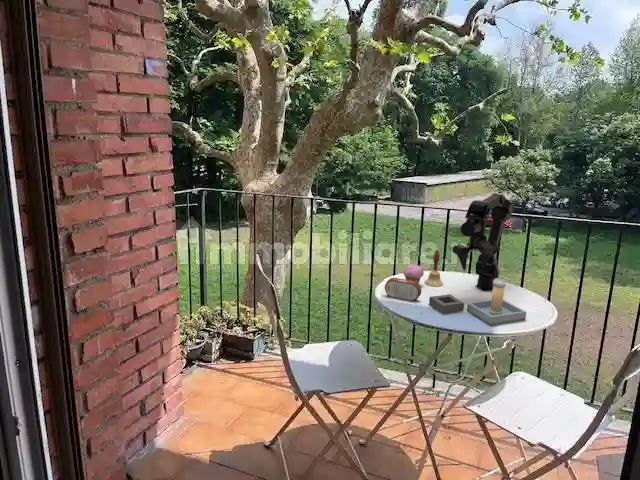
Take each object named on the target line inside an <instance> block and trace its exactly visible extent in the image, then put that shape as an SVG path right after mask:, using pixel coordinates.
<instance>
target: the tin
mask: <svg viewBox="0 0 640 480" xmlns="http://www.w3.org/2000/svg"><path fill="white" fill-rule="evenodd" d="M384 290H385V293H386V294H387V296H388V297H390V298H393V299H398V300H402V301H403V300H404V301H409V302H413V301H416V300H418V299H419V298H420V296H421V294H422V288H421V286H420V283H419V284H418V283H417V282H415V281H411V280H406V278H405V279H403V278H399V277H391V278H389V279H388V280H387V281H386V283H385V284H384Z"/></svg>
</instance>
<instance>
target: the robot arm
mask: <svg viewBox="0 0 640 480" xmlns="http://www.w3.org/2000/svg"><path fill="white" fill-rule="evenodd" d="M513 211H514V208H513V203H512V202H511V201H510V200H508V199H507V198H506V196H505V195H504V194H499V193H492V194H491V196H489V197H486V198H483V200H481V199H479V200H472V201H471V203H469V206H468V209H467V211H466V214H465V217H464V218H465V219H466V221H465V222H464V223H462V224H461V226H460V232H461V234H462V235H463V236H465V237H468V239H469V240H468V242H466V246H465V245H463V244H456V245H455V244H454V245H453V246H452V253H454V254H455V255H457V257H458V260H459V262H460V265H461V268H462V270H463V271H466V269H467V261H468V258H469V257H470V255H469V254H470V252H479V253H480V254H479V255H478V259H477V260H476V263H475V274H476V275H478V278H477V283H476V285H475V288H478V289H480V290H482V291H483V292H488V291H493V280H495V279H498V278H499V275H500V269H499V267H498V260H497V255H496V254H497V253H498V252H499V248H500V247H499V243H500V239H501V235H502V232H503V228H504V225H505V224H506V223H507V222H508V220H510V217H511V215H512V214H513ZM490 216H491V219H492V223H491V227H490V231H489V234H488V237H487V235H486V225H487V220H488V218H489V217H490ZM500 220H501V221H500Z"/></svg>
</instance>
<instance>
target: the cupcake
mask: <svg viewBox="0 0 640 480" xmlns="http://www.w3.org/2000/svg"><path fill="white" fill-rule="evenodd" d="M403 275H404V277H405V280H411V281H415V282H417V283H418V284H419V285H420V280H421V278H422V277H424V275H425V274H424V268H423V267H422V266H420V265H418V264H413V263H412V264H411V263H410V264H408V265H407V266H406V267H405V268H404V270H403Z"/></svg>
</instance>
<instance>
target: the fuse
mask: <svg viewBox="0 0 640 480" xmlns="http://www.w3.org/2000/svg"><path fill="white" fill-rule="evenodd" d="M506 283H507V282H506V280H504V279H498V278H495V280H493V290H492V295H491V299H490V300H491V308H490V312H489V313H490V314H492V315H500V314H502V303H503V300H504V295H505V287H506Z"/></svg>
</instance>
